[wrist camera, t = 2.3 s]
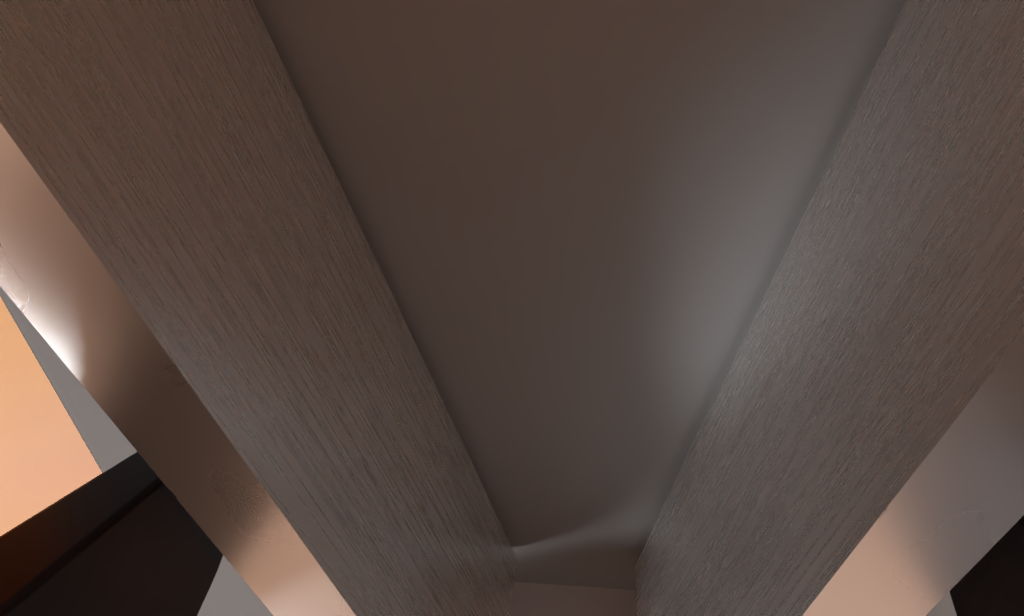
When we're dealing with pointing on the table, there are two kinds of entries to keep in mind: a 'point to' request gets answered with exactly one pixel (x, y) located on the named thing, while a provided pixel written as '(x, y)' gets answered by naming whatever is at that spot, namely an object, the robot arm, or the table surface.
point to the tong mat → (565, 234)
